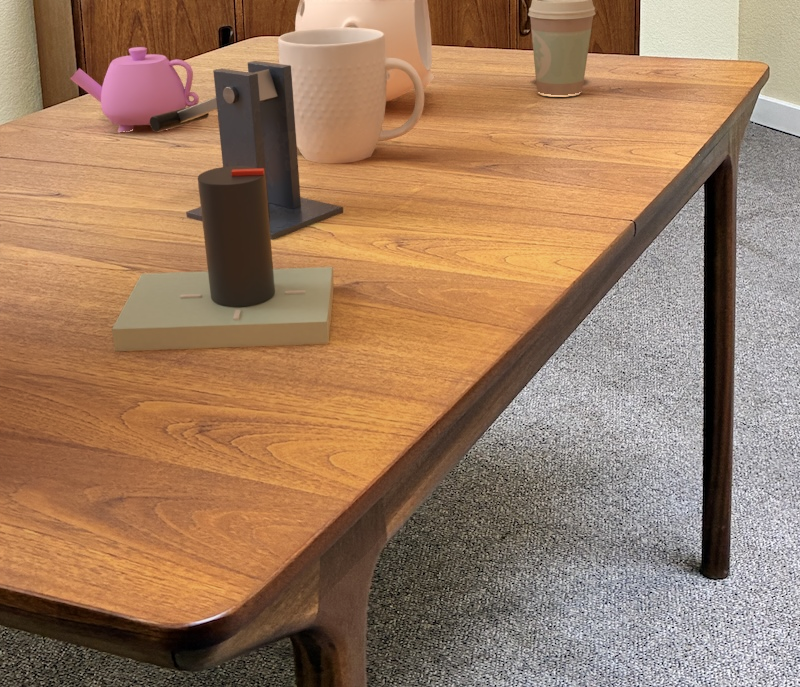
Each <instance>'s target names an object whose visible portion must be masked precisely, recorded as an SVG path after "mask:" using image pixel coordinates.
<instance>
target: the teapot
mask: <svg viewBox="0 0 800 687" xmlns="http://www.w3.org/2000/svg"><path fill="white" fill-rule="evenodd" d="M147 52H148V48H147V47H144V46H137V47H136V46H135V47H130V48H128V53H129V55H124V56H120V57H116V58H114V59H112V61H111V62H110V64H109V66H108V68H107V70H106V73H105V76H104V79H103V82H102V85H101V84H100V83H98V82H97V81H96V80H95V79H93V77H91V76H90V75H88V74H87V73H86V72H85V71H84V70H82V69H81V68H80V67H79V68H78V69H77V70H76V71H75V72H74V73H73V75H72V76H71V77H70V80H71V81H72V82H74V83H75V84H76V85H77V86H79V88H81V89H82V90H84V91H85V92H86V93H87V94H89V95H90V96H91V97H93V98H94V99H96V100H97V101H98V102H99V103H100V108H101V111H102V113H103V114H104V116H105V117H106V118H107V120H109V121H110V122H111V124H115V125H118V126H119V127H118V129H117V132H118V131H121V132H123V131H125V132H126V131H130V130H132V129H133V128H135V126H150V118H151V117H152V116H156V115H160V114H164V113H167V112H171V111H175V110H179V109H183V108H187V107H191V106H194V105H197V104H199V100H200V98H199V95H198V93H196V92H195V91H191V89H192V85H193V79H194V70H193V68H192V66H191V65H190V64H189V63H188V62H187V61H185V60H182V59H177V58H175V59H172V60H169V59H168V57H167V56H166V55H163V54H156V53H154V54H153V53H152V54H151V53H150V54H147ZM174 66H180V67H183V68H184V69H185V71H186V81H185V82H186V83H185V86H184V84H183V81H182V79H181V77H180V76H179V74H178V72H177V70H176V69H175V67H174ZM190 97H192V98H193V100H190ZM133 130H134V129H133ZM126 133H127V132H126Z"/></svg>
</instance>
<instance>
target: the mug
mask: <svg viewBox="0 0 800 687" xmlns="http://www.w3.org/2000/svg"><path fill="white" fill-rule="evenodd" d="M277 48H278V64H283V65H290V66H291V73H292V87H293V101H294V115H295V129H296V143H297V150H298V151H299V152H300V154H301V155H302V157H303V158H304V159H305V160H307V161H309V162H313V163H318V164H332V165H333V164H348V163H354V162H359V161H363V160H365V159H368V158H371V157H372V156H373V153H374V152H375V149H376V148H377V145H378V142H384V141H389V140H393V139H396V138H399V137H402V136H404V135H406V134H407V133H409V132H410V131H411V130H413V129H414V127H416V125H418V122H419V120H420V118H421V117H422V114H423V111H424V105H425V89H423V85H422V81H421V79H420V77H419V75H418V73H417V71H416V70H415V69H414V68H413V67H412V66H411V65H410V64H409V63H407V62H405V61H403V60H400V59H397V58H386V53H385V35H384V33H383V32H381V31H378V30H374V29H366V28H349V27H340V28H319V29H308V30H300V31H295V30H294V31H290V32H287V33H284V34H282V35H280V36H279V37H278V39H277ZM391 69H400V70H402V71H404V72H405V73H406V74H408V76H409V77H410V79H411V80H412V82H413V85H414V88H413V89H414V92H415V102H414V103H415V104H414V108H413V111H412V113H411V115H410V117H409V118H408V119H407V121H405V122H404V123H403V124H402V125H401V126H399V127H396V128H393V129H387V130H386V129H384V130H383V124H384V119H385V113H386V105H387V102H386V90H387V89H386V85H387V80H386V79H387V75H386V71H387V70H391Z"/></svg>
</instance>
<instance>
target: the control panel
mask: <svg viewBox="0 0 800 687" xmlns="http://www.w3.org/2000/svg"><path fill="white" fill-rule="evenodd" d="M273 273H274V285H275V294H274V296H273V297H272V298H271V299H269V300H267V301H265V302H263V303H260V304H256V305H252V306H244V307H230V306H223V305H219V304H217V303H215V302H213V301H212V299H211V294H210V285H209V276H208V270H206V271H205V270H202V271H179V272H177V271H174V272H151V273H150V272H149V273H147V272H146V273H141V274H140V276H139V278H138V279H137V281H136V283H135V285H134V287H133V288H132V291H131V293H130V294H129V296H128V298H127V300H126V302H125V304H124V305H123V307H122V309H121V311H120V312H119V315H118V316H117V318H116V320H115V322H114V324H113V326H112V327H111V334H112V342H113V347H114V352H132V351H133V352H135V351H138V352H139V351H158V350H159V351H161V350H184V349H185V350H188V349H189V350H190V349H191V350H193V349H194V350H195V349H215V348H216V349H218V348H220V349H221V348H244V347H272V346H273V347H274V346H275V347H276V346H303V345H305V346H306V345H326V344H327V345H328V344H329V343H330V332H331V323H332V322H331V321H332V311H333V302H334V301H333V300H334V292H335V291H334V289H335V281H334V280H335V279H334V267H333V266H321V267H320V266H319V267H314V266H313V267H292V268H291V267H289V268H286V267H285V268H273Z"/></svg>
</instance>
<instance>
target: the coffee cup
mask: <svg viewBox="0 0 800 687" xmlns="http://www.w3.org/2000/svg"><path fill="white" fill-rule="evenodd" d="M595 15H596V6H594V1H593V0H531V4H530V7H529V8H528V13H527V16H528V17H529V18H530V29H531V31H530V32H531V39H532V40H531V41H532V52H533V62H534V74H535V84H536V92H537V91H538V92H540V93H544V94H551V95H568V94H575V93H579V92H581V91H582V92H583V89H584V88H583V87H584V82H585V75H586V68H587V61H588V54H589V48H590V41H591V36H592V35H591V34H592V26H593V20H594V16H595Z"/></svg>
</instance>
